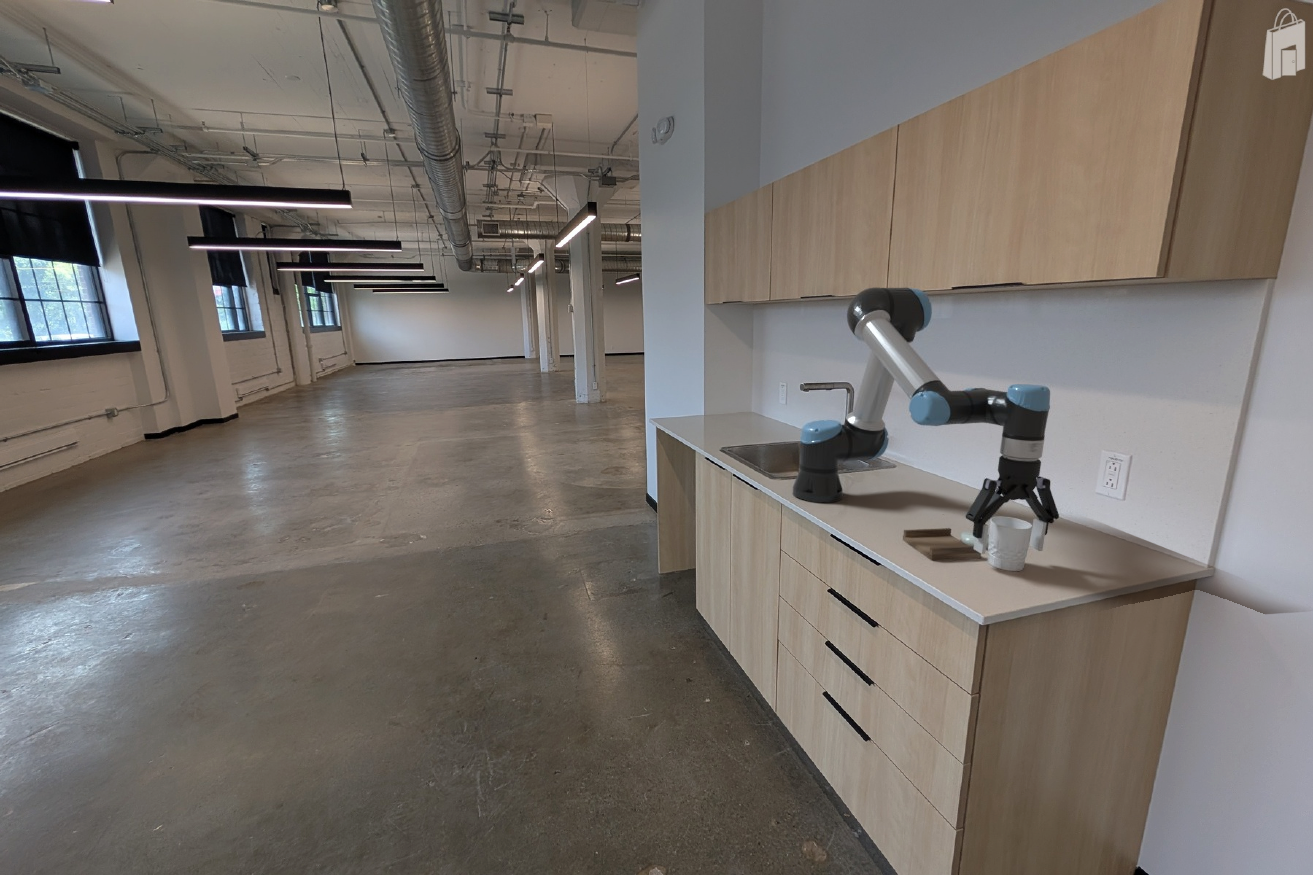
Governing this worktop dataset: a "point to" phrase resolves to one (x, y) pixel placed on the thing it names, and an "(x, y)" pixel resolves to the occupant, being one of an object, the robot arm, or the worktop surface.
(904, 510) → the worktop surface
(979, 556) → the stand
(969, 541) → the pale mint domed disc
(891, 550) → the worktop surface
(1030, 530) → the white cup
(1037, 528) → the robot arm
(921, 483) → the worktop surface
